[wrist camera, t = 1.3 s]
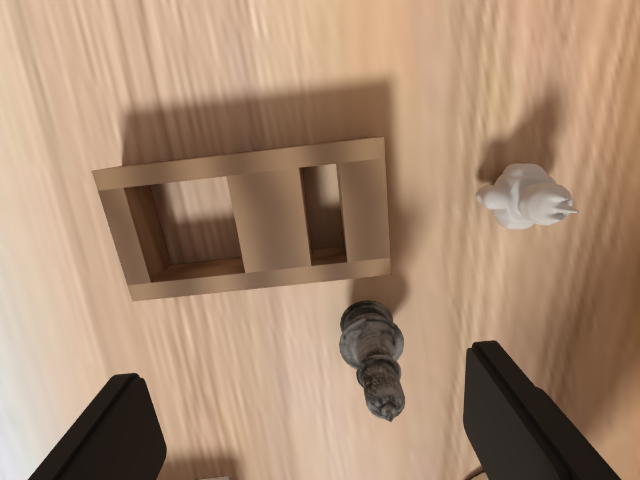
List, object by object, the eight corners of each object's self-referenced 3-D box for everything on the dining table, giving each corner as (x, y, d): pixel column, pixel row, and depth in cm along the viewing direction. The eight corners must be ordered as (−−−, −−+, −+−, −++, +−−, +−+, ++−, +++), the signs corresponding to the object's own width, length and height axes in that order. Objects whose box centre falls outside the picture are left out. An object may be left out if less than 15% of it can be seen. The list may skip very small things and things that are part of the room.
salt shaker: (369, 286, 33) (396, 369, 21) (407, 324, 34) (452, 422, 22) (325, 323, 34) (328, 420, 22) (364, 359, 35) (385, 467, 24)
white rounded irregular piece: (533, 221, 31) (604, 251, 23) (461, 221, 31) (508, 250, 23) (545, 161, 29) (626, 171, 21) (470, 160, 29) (523, 170, 21)
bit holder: (375, 136, 28) (384, 136, 25) (382, 257, 32) (391, 274, 28) (121, 165, 29) (91, 171, 25) (154, 281, 32) (132, 301, 29)
